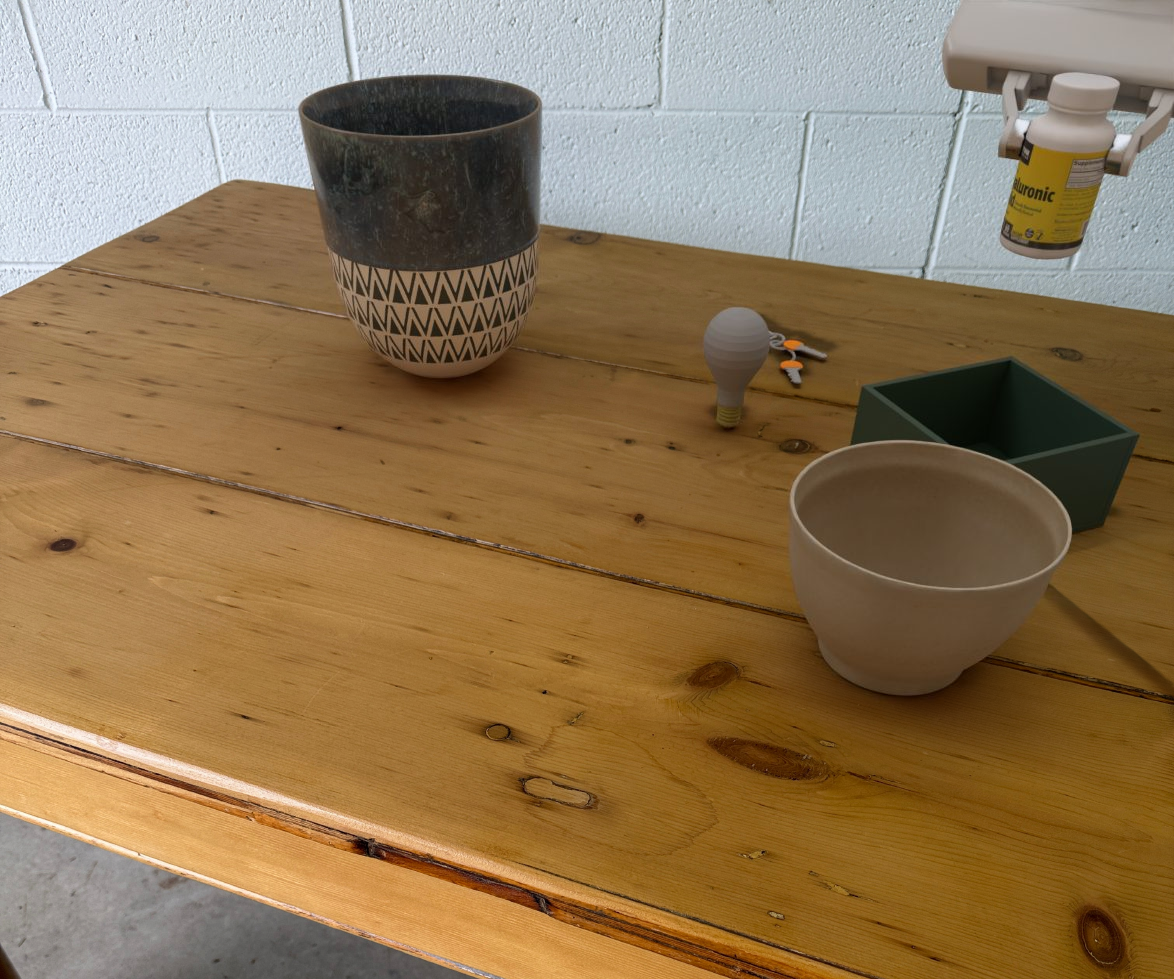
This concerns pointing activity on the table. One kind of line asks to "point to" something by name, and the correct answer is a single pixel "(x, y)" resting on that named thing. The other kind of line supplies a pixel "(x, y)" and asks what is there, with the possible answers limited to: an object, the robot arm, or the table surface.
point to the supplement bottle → (1061, 168)
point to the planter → (430, 213)
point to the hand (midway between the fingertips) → (1062, 162)
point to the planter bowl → (919, 558)
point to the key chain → (791, 346)
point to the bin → (1008, 428)
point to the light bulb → (734, 357)
